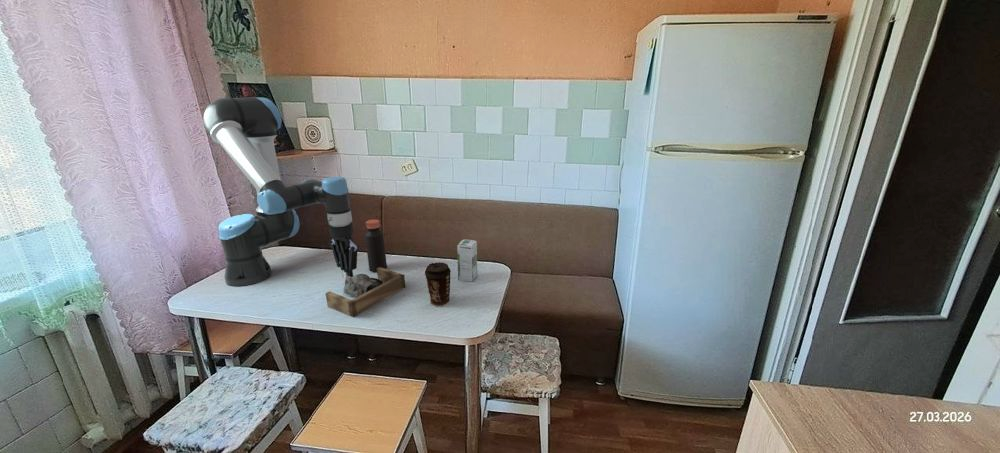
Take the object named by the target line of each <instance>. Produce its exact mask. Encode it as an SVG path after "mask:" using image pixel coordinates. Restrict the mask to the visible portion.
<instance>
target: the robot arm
mask: <svg viewBox="0 0 1000 453" xmlns="http://www.w3.org/2000/svg"><path fill="white" fill-rule="evenodd" d="M282 121H283V120H282V116H281V113H280V110H279V108H278V107H277V106H276V105H275V104H274V102H273V101H272V100H271V99H269V98H266V97H260V96H259V97H256V96H252V97H251V96H250V97H247V96H246V97H223V98H222V97H221V98H217V99H215V100H213V101H211V102H210V103H209V104H208V106H207V107H206V108H205V110H204V114H203V121H202V122H203V126H204V129H205V132H206V133H207V135H208V136H209V137H210V139H211V140H212V141H213V142H215V144H216V143H217V144H219V145H221V147H222V148H223V150H224V151H225V152H226V153H227V155H228V156H229V157H230V158H231V159H232V160H233V162H234V163H235V164H236V166H237V167H238V168H239V169H240V172H242V174H243V175H244V176H245V178H247V179H248V181H249V183H251V185H252V186H253V187H254V188H255V190H256V195H257V197H256V199H257V204H258V206H257V207H256V208H255V214H256V215H255V216H254V215H253V214H251V213H243V214H237V215H233V216H230V217H228V218H226V219H224V220H223V221H221V222H220V224H219V225H218V234H219V236H218V237H219V240H220V242H221V246H222V249H223V255H224V258H225V261H226V263H225V271H224V276H223V277H224V281H225V284H226V285H228V286H232V287H242V286H249V285H253V284H256V283H259V282H262V281H264V280H266V279H268V278H270V276H271V275H272V273H273V271H272V266H271V264H269V262H268V261H267V259H266V258H265V256H264V254H263V250H262V247H265V246H267V245H271V244H274V243H277V242H280V241H284V240H287V239H289V238H292V237H294V236H295V235H296V234H297V233H298V231H299V230H300V219H299V215H298V214H297V211H296V210H295V209H300V208H304V207H307V206H312V205H315V204H320V205H324V207H325V211H326V212H325V213H326V215H327V216H326V217H327V222H328V231H329V236H330V237H332V239H330V240H328V244H329V246H330V247H331V250H332V251H331V252H332V255H333V257H334V261H335V263H336V267H337V268H340V270H341V272H342V277H343V283H344V285H345V279H346V276H350V277H353V276H354V270H356V269H357V268H358V267H357V266H358V251H359V248H360V246H359V245H358V244H355V243H354V240H353V237H352V236H353V234H354V232H355V231H354V225H353V224H354V223H353V222H352V221H353V217H352V210H351V202H350V196H349V195H350V194H349V188H348V183H347V182H348V181H347V179H346V178H345V176H344V177H343V176H328V177H325V178H323V179H322V180H318V179H314V178H313V179H308V178H307V179H304V180H303V181H301V182H300V183H297V184H291V185H286V184H285V183H284V182H283V181H282V179H281V175H280V171H279V164H278V158H277V154H276V148H275V143H274V140H275V139H276V137H277V136H278V134H277V131H278V130H279V129H280V128H281V127H282Z"/></svg>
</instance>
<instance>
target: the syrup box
mask: <svg viewBox="0 0 1000 453" xmlns="http://www.w3.org/2000/svg"><path fill="white" fill-rule="evenodd" d="M456 247H457V249H456V251H457V252H456V253H457V280H458V281H462V282H471V283H472V282H474V280H475V279H476V277H477V276H478V241H477V240H474V239H462V240H461V241H460V242H459V243H458V244H457V246H456Z"/></svg>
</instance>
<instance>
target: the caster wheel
mask: <svg viewBox="0 0 1000 453" xmlns="http://www.w3.org/2000/svg"><path fill="white" fill-rule="evenodd" d="M381 284H383V281H381V280H379V279H378V278H375V277H371V276H369V275H368V274H366V273H359V274H355V275H353V277H350V276H346V279H345V284H344V285H343V286H344V287H343V294H345V295H348V296H351V297H354V298H357V297H358V296H360V295H362V294H364V293H366V292H368V291H370V290H372V289H374V288H375V287H377V286H379V285H381Z"/></svg>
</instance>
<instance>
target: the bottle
mask: <svg viewBox="0 0 1000 453" xmlns="http://www.w3.org/2000/svg"><path fill="white" fill-rule="evenodd" d="M365 226H366V229H367V231H366V233H365V234H364V237H365V238H364V239H365V247H366V248H365V249H366V255H367V262H368V270H369V271H370V273H375V274H377V268H379V267H381V268H384V269H387V268H388V262H387V256H386V247H385V246H386V245H385V244H386V243H385V237H384V232H383V231H382V230H381V229H380V228H381V227H380V226H381V223H380V220H379V219H369V220H366V221H365Z"/></svg>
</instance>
